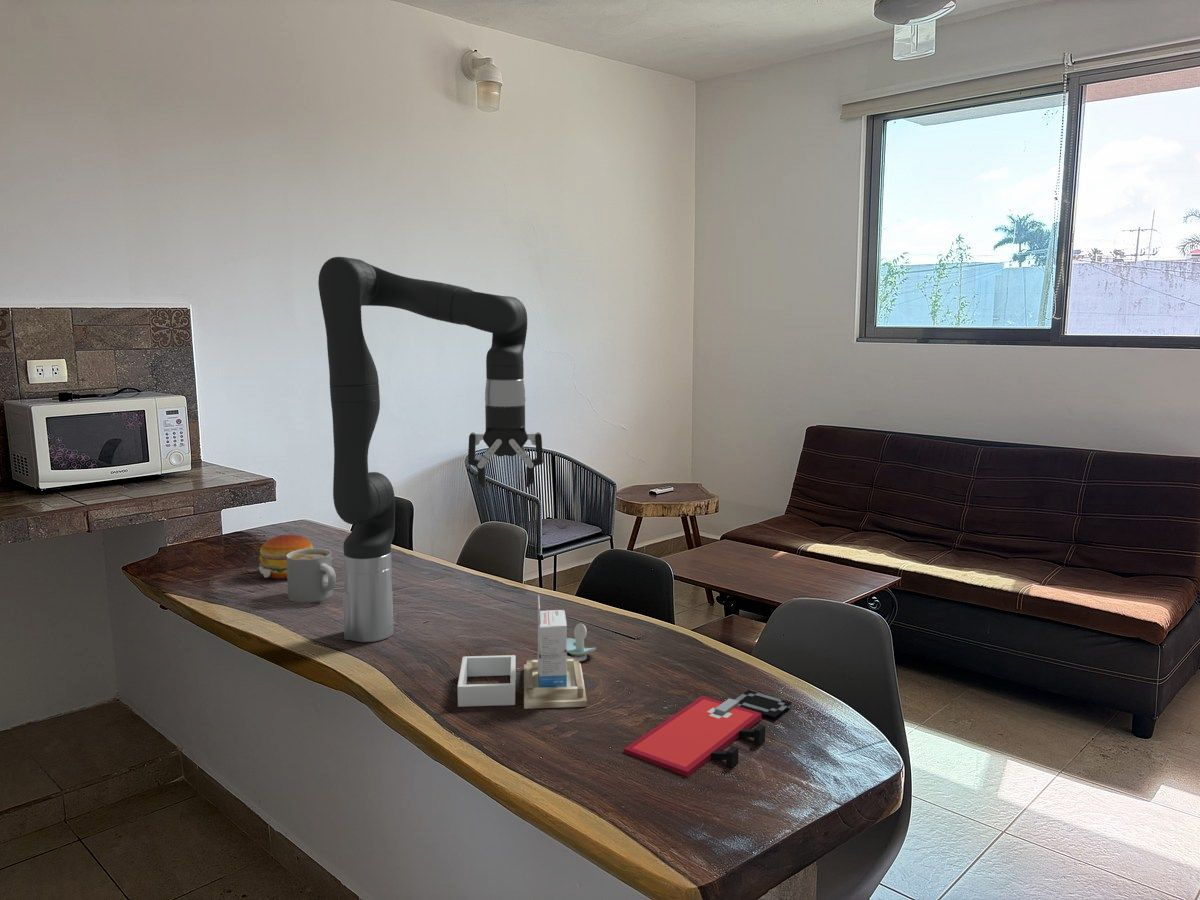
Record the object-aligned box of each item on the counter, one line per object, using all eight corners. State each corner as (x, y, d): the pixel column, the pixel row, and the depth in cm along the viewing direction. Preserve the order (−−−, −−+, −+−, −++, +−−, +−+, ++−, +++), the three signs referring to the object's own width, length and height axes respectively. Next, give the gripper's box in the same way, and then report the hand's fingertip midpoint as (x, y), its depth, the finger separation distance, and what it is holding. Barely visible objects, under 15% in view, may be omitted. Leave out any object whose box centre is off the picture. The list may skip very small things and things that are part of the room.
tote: (457, 706, 144) (457, 686, 143) (463, 674, 157) (462, 656, 156) (515, 704, 145) (514, 685, 144) (515, 673, 157) (515, 655, 157)
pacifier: (577, 666, 161) (600, 657, 165) (576, 635, 160) (599, 626, 164) (551, 655, 167) (575, 646, 171) (551, 625, 165) (574, 616, 170)
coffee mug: (280, 595, 200) (278, 553, 199) (321, 586, 207) (319, 545, 206) (306, 609, 191) (304, 565, 189) (348, 599, 198) (346, 557, 196)
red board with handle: (803, 710, 144) (724, 688, 153) (803, 695, 143) (724, 673, 152) (710, 789, 120) (623, 757, 129) (710, 770, 120) (623, 739, 129)
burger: (327, 572, 219) (325, 533, 217) (282, 585, 208) (280, 545, 206) (292, 563, 226) (290, 526, 224) (247, 576, 215) (244, 537, 213)
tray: (524, 708, 143) (523, 694, 143) (523, 669, 159) (523, 656, 159) (586, 706, 144) (587, 692, 144) (580, 668, 160) (580, 655, 160)
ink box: (567, 691, 147) (567, 609, 145) (538, 692, 147) (538, 609, 145) (564, 671, 156) (564, 593, 154) (537, 672, 155) (537, 593, 153)
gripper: (466, 404, 159) (467, 491, 161) (543, 404, 160) (543, 490, 163) (468, 401, 166) (469, 483, 169) (542, 400, 168) (542, 482, 170)
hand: (505, 486), depth 166 cm, fingers open, 8 cm apart
